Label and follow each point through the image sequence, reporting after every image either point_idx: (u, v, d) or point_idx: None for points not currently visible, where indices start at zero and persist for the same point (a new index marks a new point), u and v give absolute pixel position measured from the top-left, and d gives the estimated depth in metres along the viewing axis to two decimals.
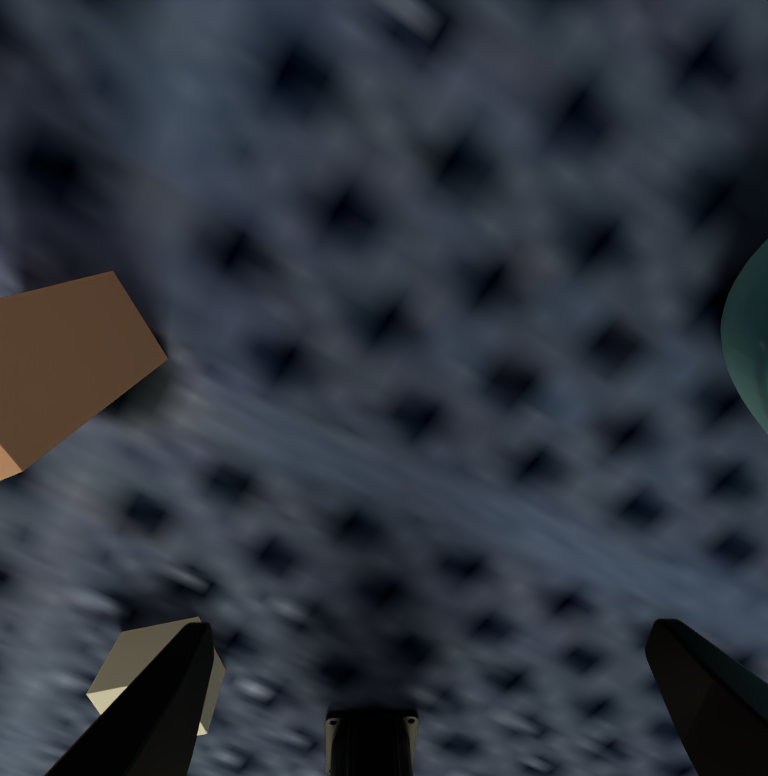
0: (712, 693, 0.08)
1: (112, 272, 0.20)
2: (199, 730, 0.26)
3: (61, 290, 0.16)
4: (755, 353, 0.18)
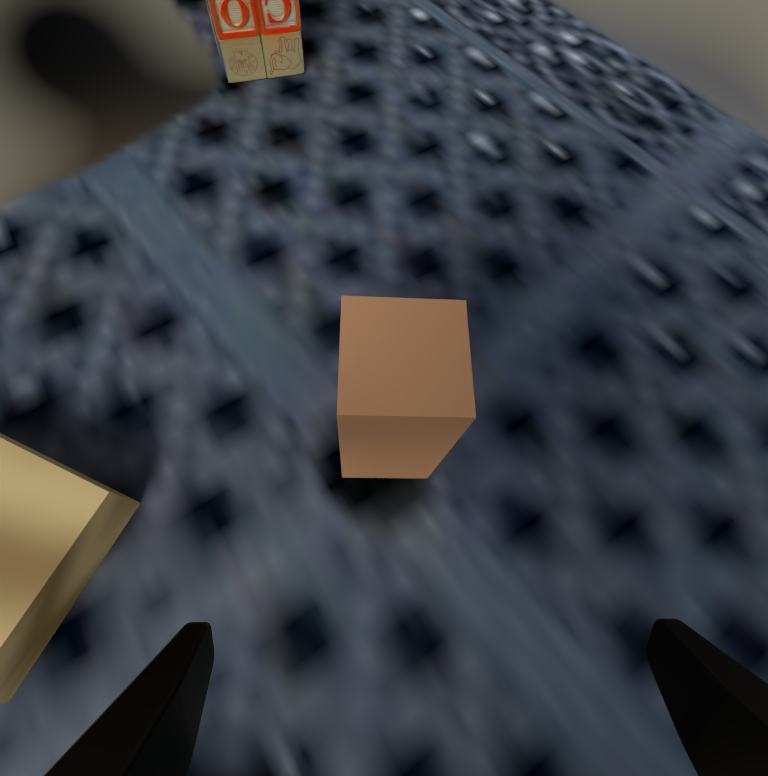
0: (712, 693, 0.08)
1: None
2: None
3: None
4: None
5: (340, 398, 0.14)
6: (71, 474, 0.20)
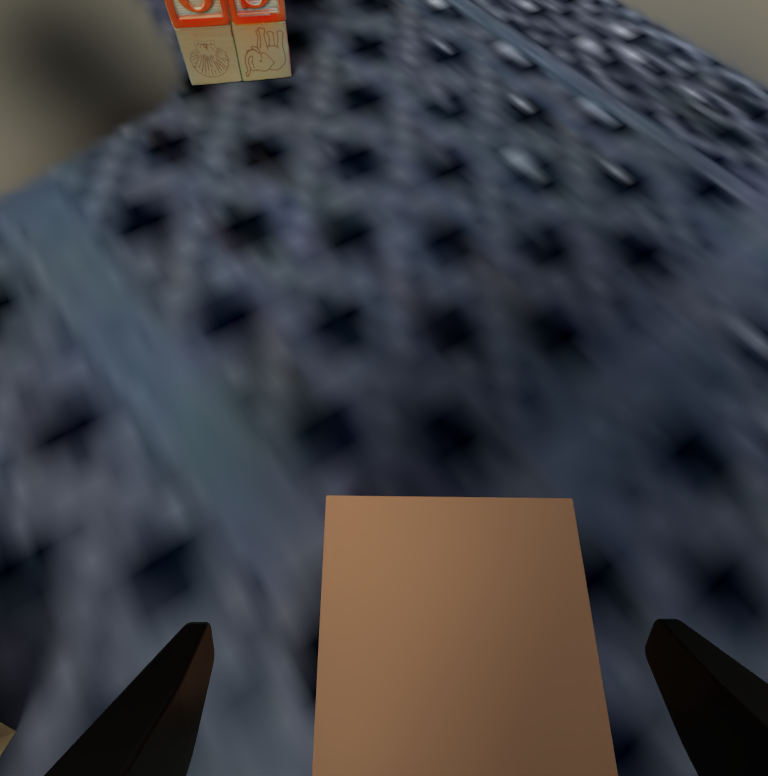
0: (712, 693, 0.08)
1: None
2: None
3: None
4: None
5: (320, 773, 0.06)
6: None
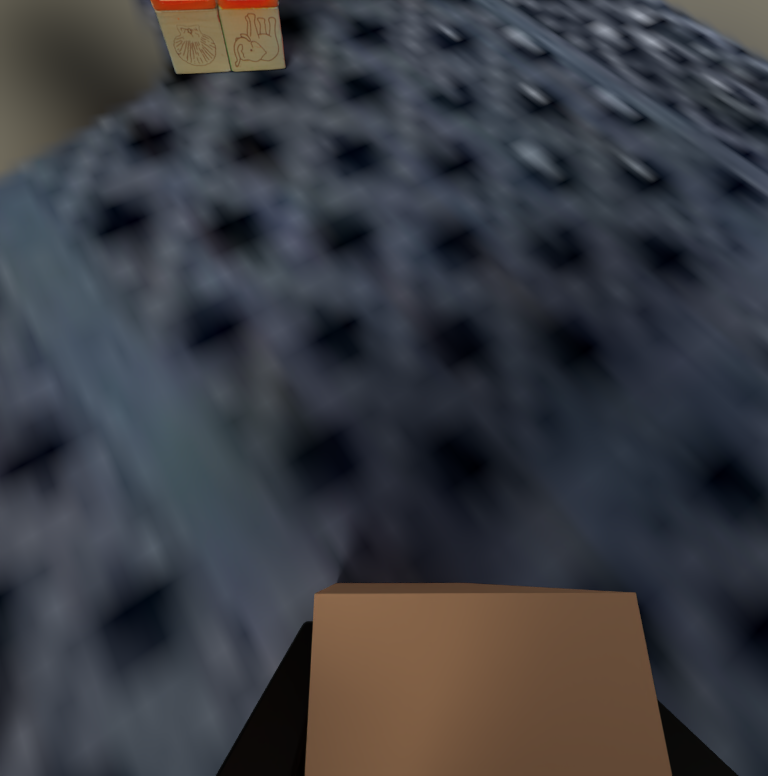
0: None
1: None
2: None
3: None
4: None
5: None
6: None
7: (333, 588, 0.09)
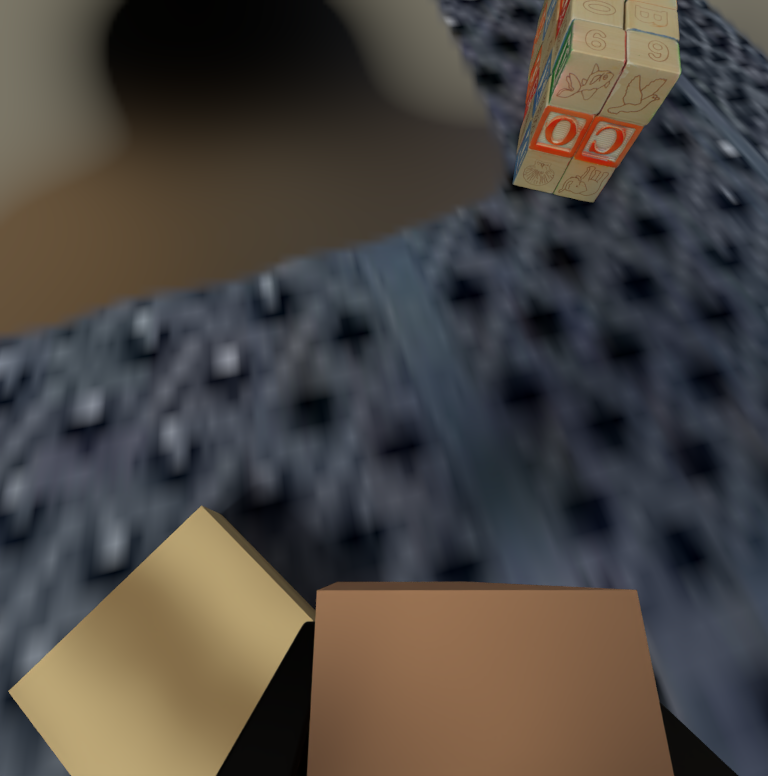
0: None
1: None
2: None
3: None
4: None
5: None
6: None
7: (334, 586, 0.09)
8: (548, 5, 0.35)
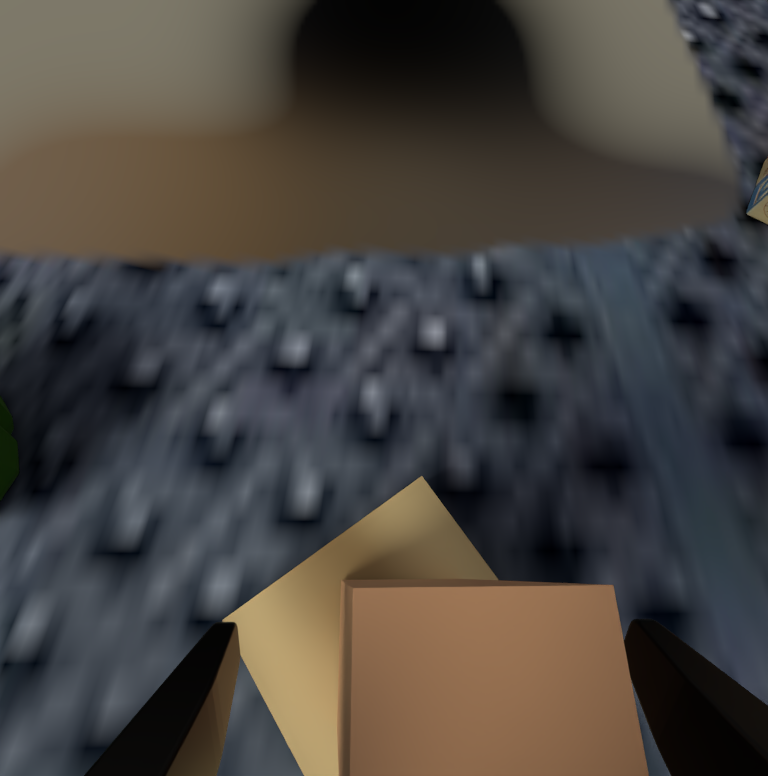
0: (684, 693, 0.08)
1: None
2: None
3: None
4: None
5: None
6: None
7: None
8: None
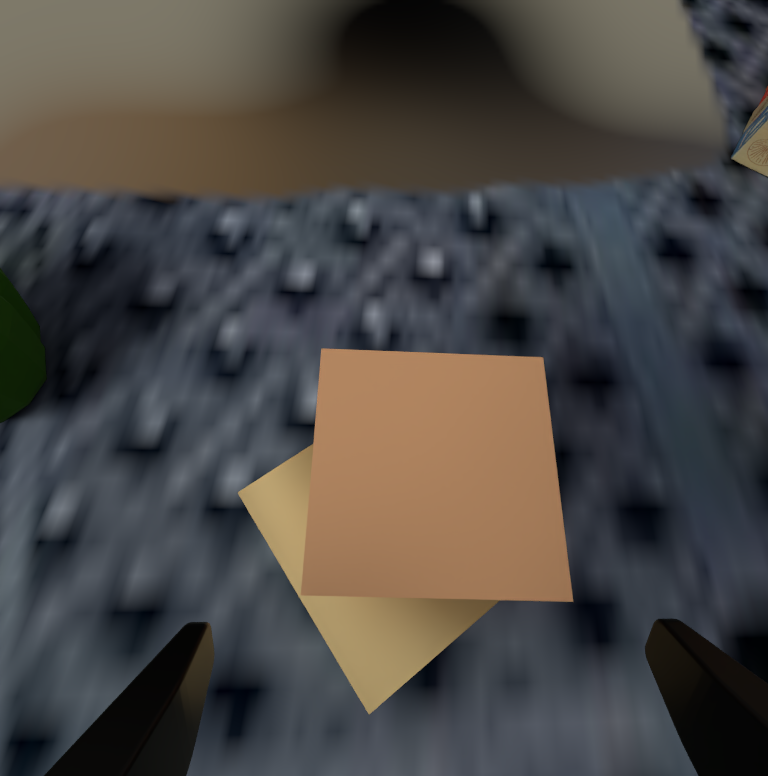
0: (712, 693, 0.08)
1: None
2: None
3: None
4: None
5: (311, 557, 0.07)
6: None
7: None
8: None
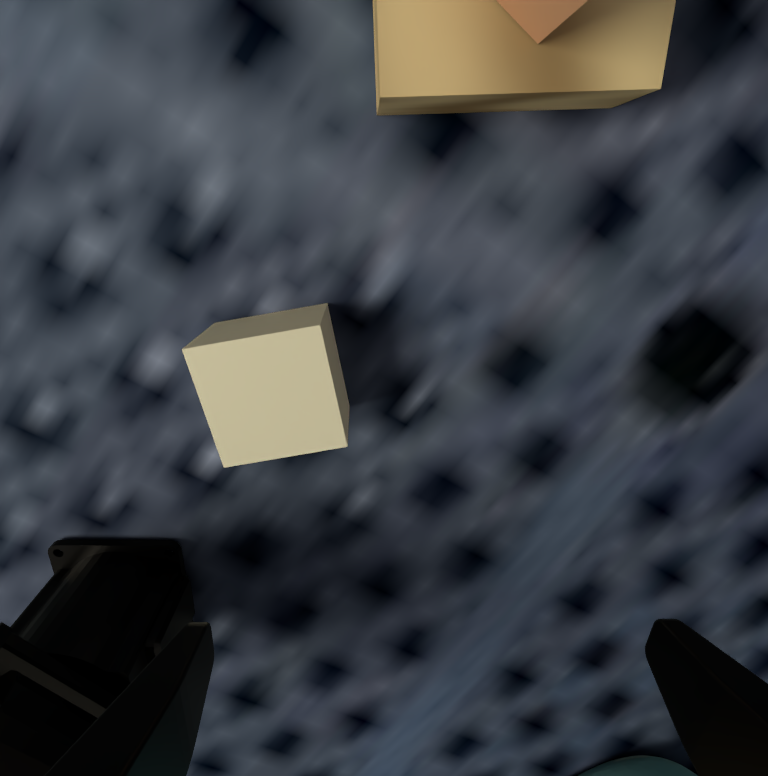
0: (712, 693, 0.08)
1: None
2: (231, 459, 0.18)
3: None
4: None
5: None
6: (672, 14, 0.14)
7: None
8: None
